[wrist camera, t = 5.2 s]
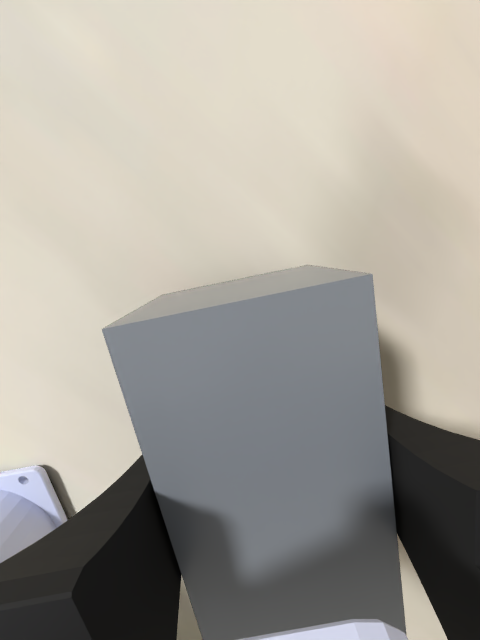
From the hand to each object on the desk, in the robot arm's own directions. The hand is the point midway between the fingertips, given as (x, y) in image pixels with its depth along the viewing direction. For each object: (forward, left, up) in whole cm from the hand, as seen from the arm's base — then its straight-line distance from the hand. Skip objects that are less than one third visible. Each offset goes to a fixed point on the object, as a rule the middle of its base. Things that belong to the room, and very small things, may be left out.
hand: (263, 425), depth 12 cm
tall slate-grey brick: (0, 0, -1) cm, 1 cm away
